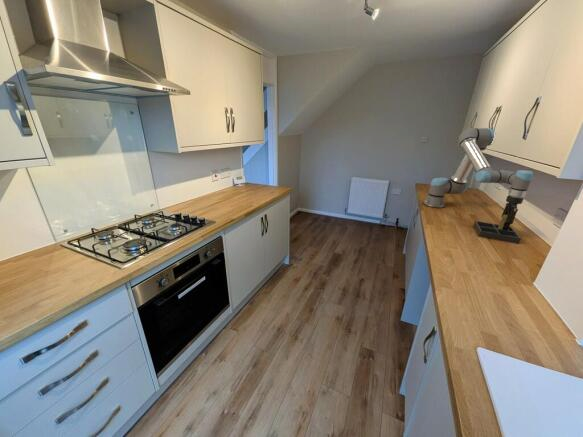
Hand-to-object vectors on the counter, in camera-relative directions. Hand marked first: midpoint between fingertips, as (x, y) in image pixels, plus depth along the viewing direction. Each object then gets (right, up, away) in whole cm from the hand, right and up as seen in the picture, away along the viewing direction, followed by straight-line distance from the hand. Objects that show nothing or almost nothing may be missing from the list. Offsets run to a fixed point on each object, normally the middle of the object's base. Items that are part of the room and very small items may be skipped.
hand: (502, 230), depth 153 cm
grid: (-6, -2, -1) cm, 7 cm away
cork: (0, 0, 0) cm, 0 cm away
